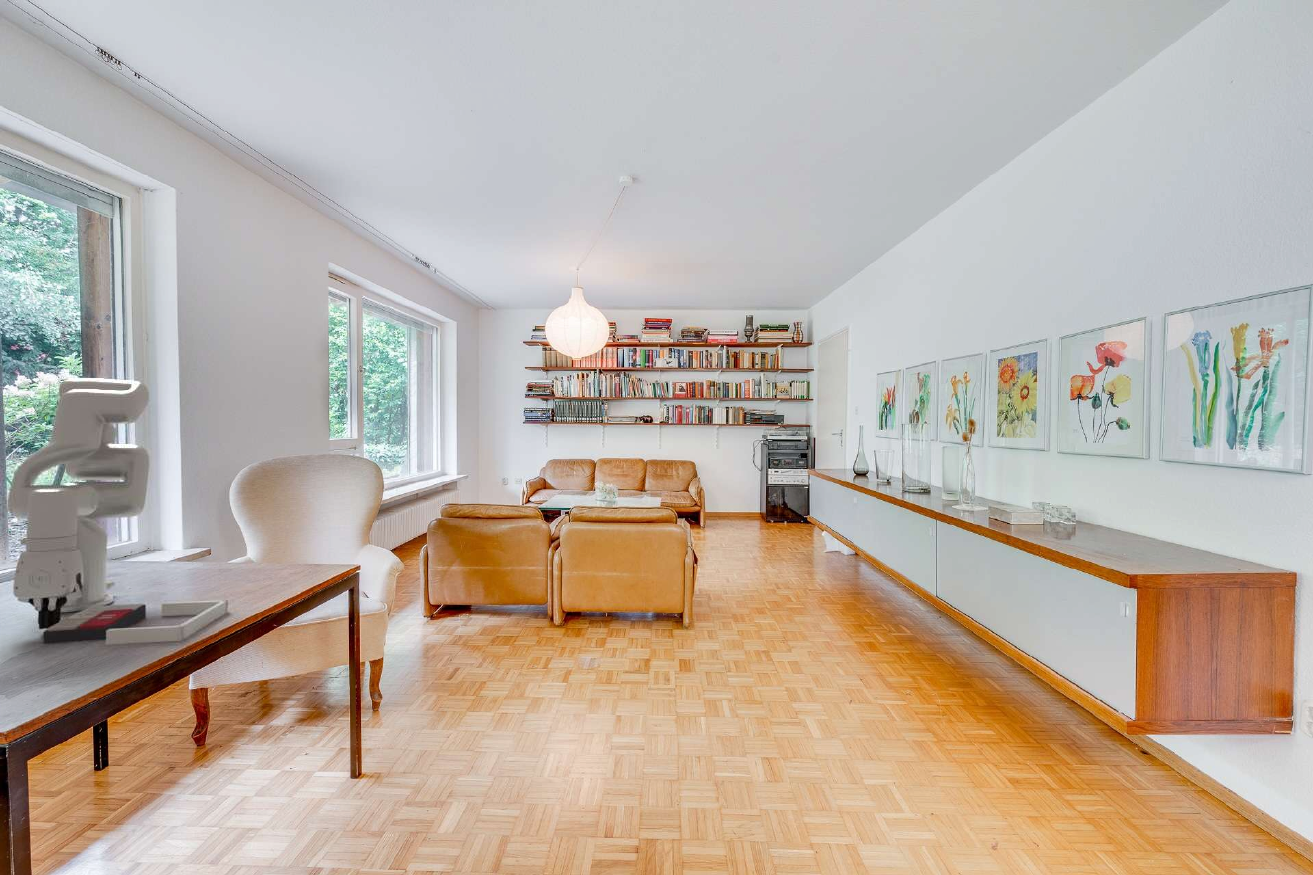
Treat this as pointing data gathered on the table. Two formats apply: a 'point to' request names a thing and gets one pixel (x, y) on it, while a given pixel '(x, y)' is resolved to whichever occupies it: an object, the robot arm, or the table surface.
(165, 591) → the table surface
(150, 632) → the white u-shaped fence
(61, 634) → the calculator
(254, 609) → the table surface
